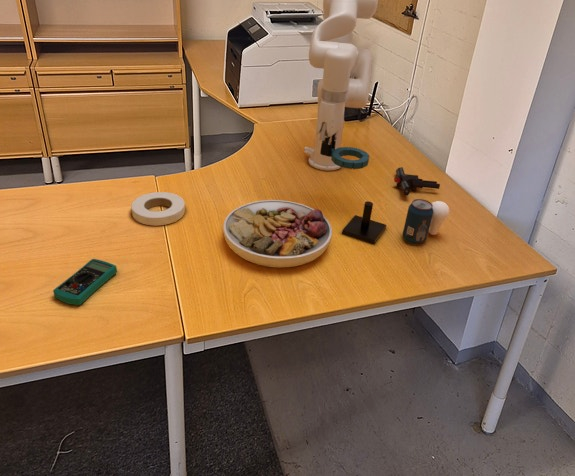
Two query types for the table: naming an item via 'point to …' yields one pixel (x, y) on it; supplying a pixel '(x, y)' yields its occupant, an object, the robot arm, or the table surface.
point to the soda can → (418, 221)
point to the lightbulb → (438, 216)
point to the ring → (349, 151)
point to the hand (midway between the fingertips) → (327, 153)
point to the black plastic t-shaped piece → (412, 182)
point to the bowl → (277, 233)
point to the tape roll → (158, 217)
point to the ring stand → (364, 226)
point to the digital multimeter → (85, 282)
